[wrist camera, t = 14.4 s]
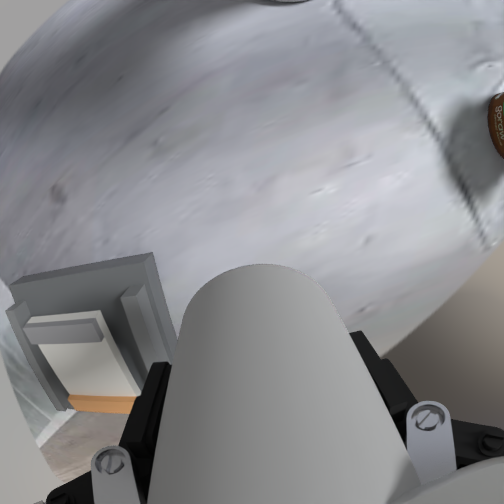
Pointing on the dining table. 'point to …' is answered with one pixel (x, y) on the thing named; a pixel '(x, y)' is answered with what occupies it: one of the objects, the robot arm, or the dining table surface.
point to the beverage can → (273, 402)
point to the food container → (497, 122)
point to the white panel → (85, 360)
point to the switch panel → (111, 306)
